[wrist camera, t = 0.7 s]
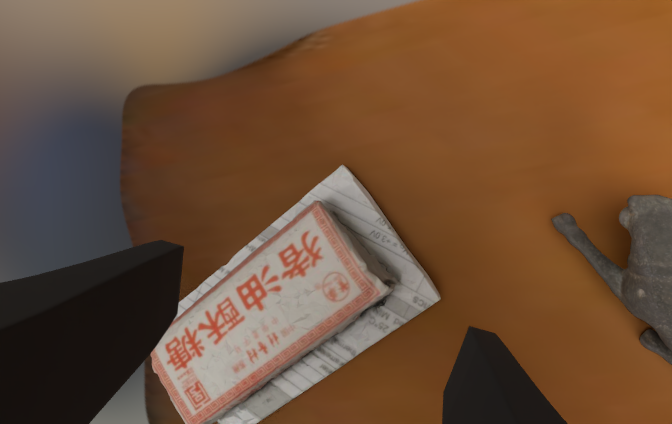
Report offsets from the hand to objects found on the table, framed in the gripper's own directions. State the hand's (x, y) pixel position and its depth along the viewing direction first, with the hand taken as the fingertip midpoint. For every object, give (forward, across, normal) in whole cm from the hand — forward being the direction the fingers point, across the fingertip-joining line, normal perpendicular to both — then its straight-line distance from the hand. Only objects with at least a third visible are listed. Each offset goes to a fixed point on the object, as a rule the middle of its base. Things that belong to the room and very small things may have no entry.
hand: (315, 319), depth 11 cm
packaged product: (+17, +3, +11) cm, 20 cm away
